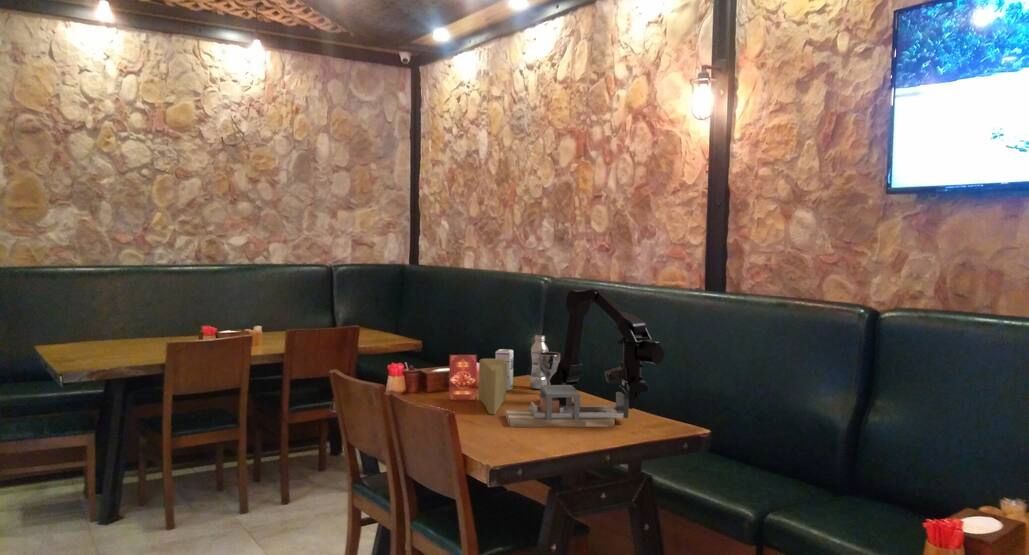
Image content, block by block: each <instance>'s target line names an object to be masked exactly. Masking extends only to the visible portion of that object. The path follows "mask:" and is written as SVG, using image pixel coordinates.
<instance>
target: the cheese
mask: <svg viewBox="0 0 1029 555" xmlns="http://www.w3.org/2000/svg"><path fill="white" fill-rule="evenodd" d="M478 365H479V368H478V400H479V402H481V403H482V404H483V405H484V406H485V408H486V411H487V412H488V415H492V416H493V415H494V416H495V415H496V414H497V411H499V409H500V407H501V406H502V404H503V403H505V401H506V398H507V390H506V388H507V360H505V359H496V358H481V359H479V364H478Z"/></svg>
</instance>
